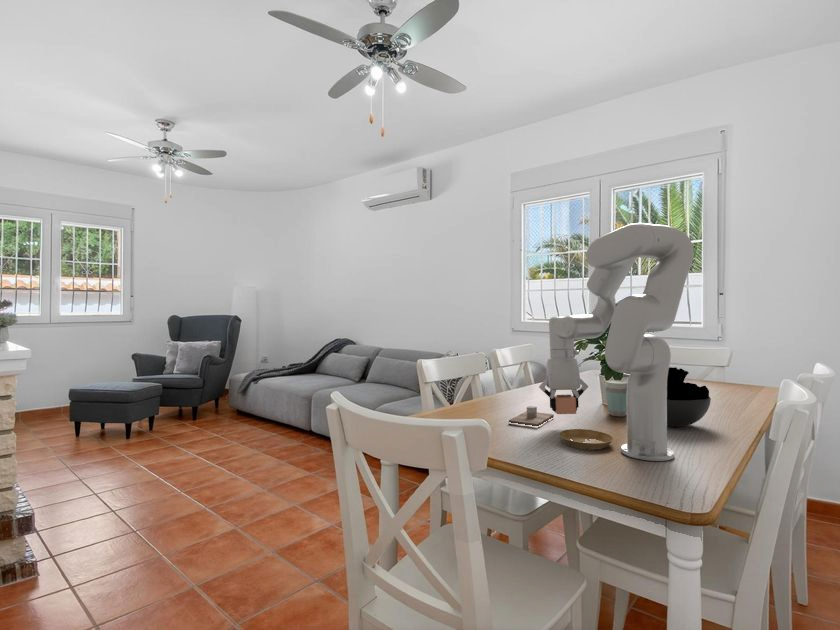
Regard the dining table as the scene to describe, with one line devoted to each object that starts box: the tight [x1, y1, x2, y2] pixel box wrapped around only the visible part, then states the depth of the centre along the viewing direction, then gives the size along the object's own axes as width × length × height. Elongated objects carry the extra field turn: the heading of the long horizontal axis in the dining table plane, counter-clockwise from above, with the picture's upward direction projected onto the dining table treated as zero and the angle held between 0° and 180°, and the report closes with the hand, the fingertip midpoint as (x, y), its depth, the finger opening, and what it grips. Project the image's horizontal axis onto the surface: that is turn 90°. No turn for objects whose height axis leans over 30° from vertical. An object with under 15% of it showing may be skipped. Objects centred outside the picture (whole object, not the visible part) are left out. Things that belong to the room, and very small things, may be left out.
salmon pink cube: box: [553, 394, 577, 415], centre depth 147 cm, size 6×6×6 cm
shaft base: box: [508, 405, 555, 426], centre depth 157 cm, size 16×10×5 cm, turn 145°
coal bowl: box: [667, 366, 712, 427], centre depth 149 cm, size 20×20×19 cm
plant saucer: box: [558, 428, 615, 450], centre depth 130 cm, size 15×15×3 cm
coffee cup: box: [604, 379, 628, 417], centre depth 165 cm, size 8×9×12 cm
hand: (564, 409), depth 147 cm, fingers closed on salmon pink cube, 6 cm apart
